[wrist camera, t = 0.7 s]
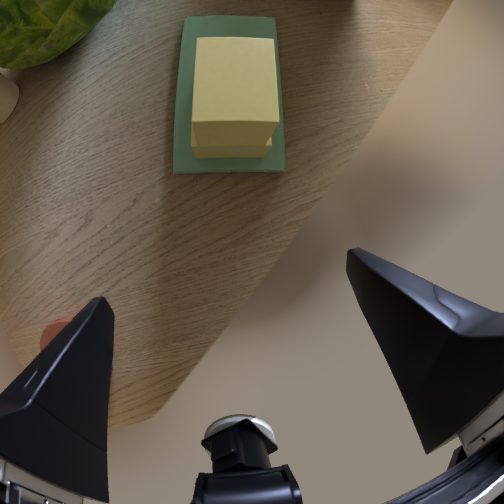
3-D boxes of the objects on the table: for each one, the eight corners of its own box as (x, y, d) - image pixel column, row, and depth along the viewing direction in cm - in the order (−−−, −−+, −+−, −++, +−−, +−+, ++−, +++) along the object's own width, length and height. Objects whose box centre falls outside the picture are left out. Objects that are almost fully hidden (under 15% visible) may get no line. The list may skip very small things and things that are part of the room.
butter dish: (283, 172, 23) (297, 160, 18) (174, 174, 22) (164, 162, 17) (273, 23, 22) (282, -4, 17) (185, 22, 20) (182, -6, 16)
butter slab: (265, 145, 18) (279, 122, 14) (197, 146, 18) (191, 122, 13) (262, 73, 18) (273, 39, 13) (199, 72, 17) (196, 37, 13)
